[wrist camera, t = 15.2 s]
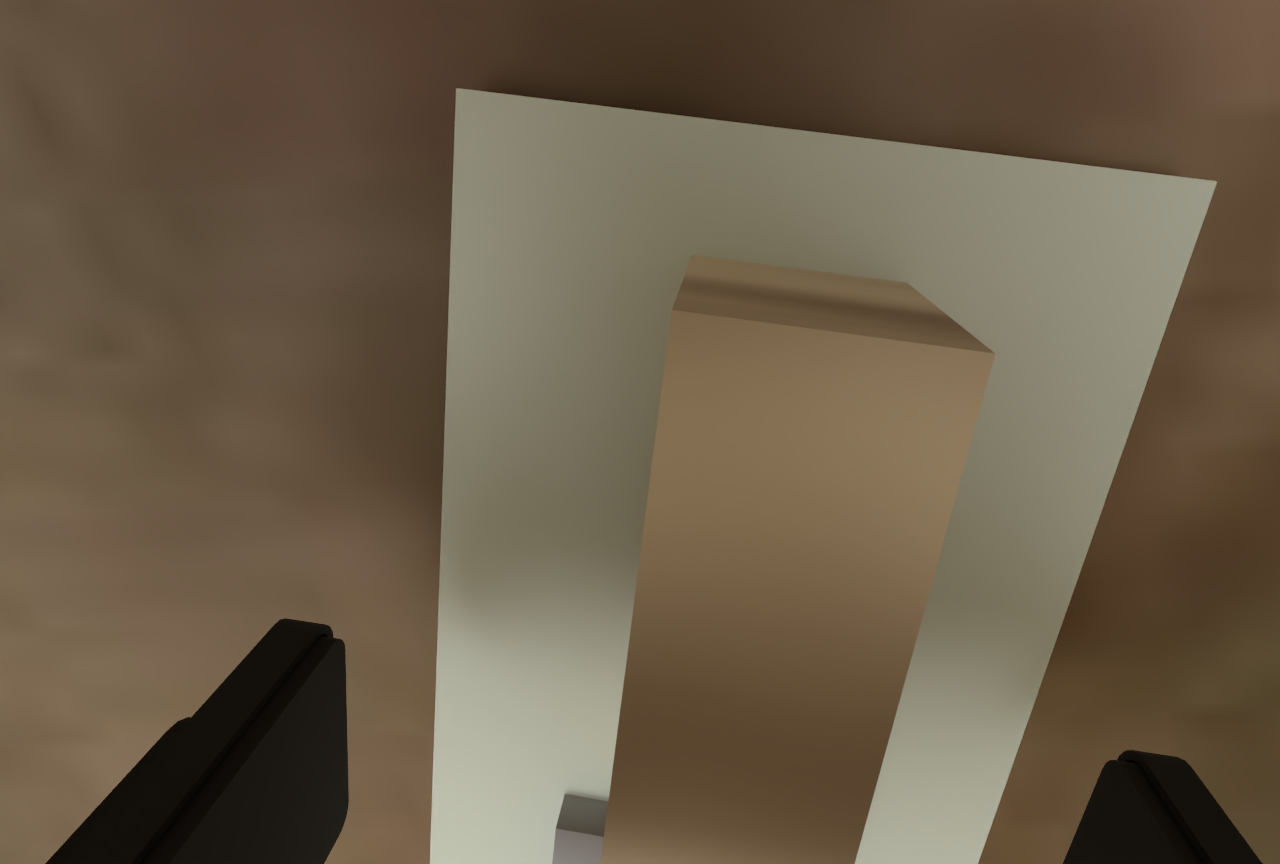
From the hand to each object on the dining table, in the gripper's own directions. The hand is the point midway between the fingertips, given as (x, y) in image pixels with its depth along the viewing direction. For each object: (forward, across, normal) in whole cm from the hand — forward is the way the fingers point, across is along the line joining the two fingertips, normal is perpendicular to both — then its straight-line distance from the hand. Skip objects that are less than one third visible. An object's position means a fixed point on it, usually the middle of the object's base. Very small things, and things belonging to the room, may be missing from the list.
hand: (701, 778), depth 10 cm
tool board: (+4, 0, +4) cm, 6 cm away
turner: (+3, -1, +4) cm, 5 cm away
